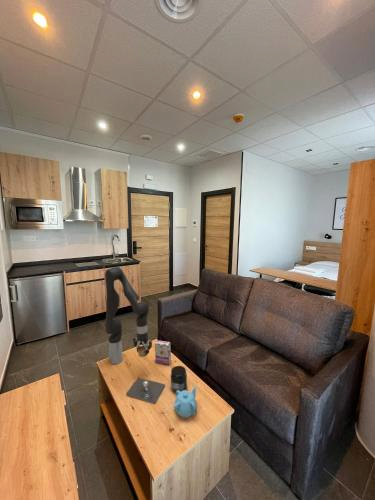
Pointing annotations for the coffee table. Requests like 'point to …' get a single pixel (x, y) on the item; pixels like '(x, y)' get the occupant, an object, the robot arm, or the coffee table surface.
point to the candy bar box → (163, 352)
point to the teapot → (185, 403)
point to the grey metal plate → (146, 390)
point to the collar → (142, 351)
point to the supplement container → (178, 378)
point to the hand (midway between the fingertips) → (143, 352)
